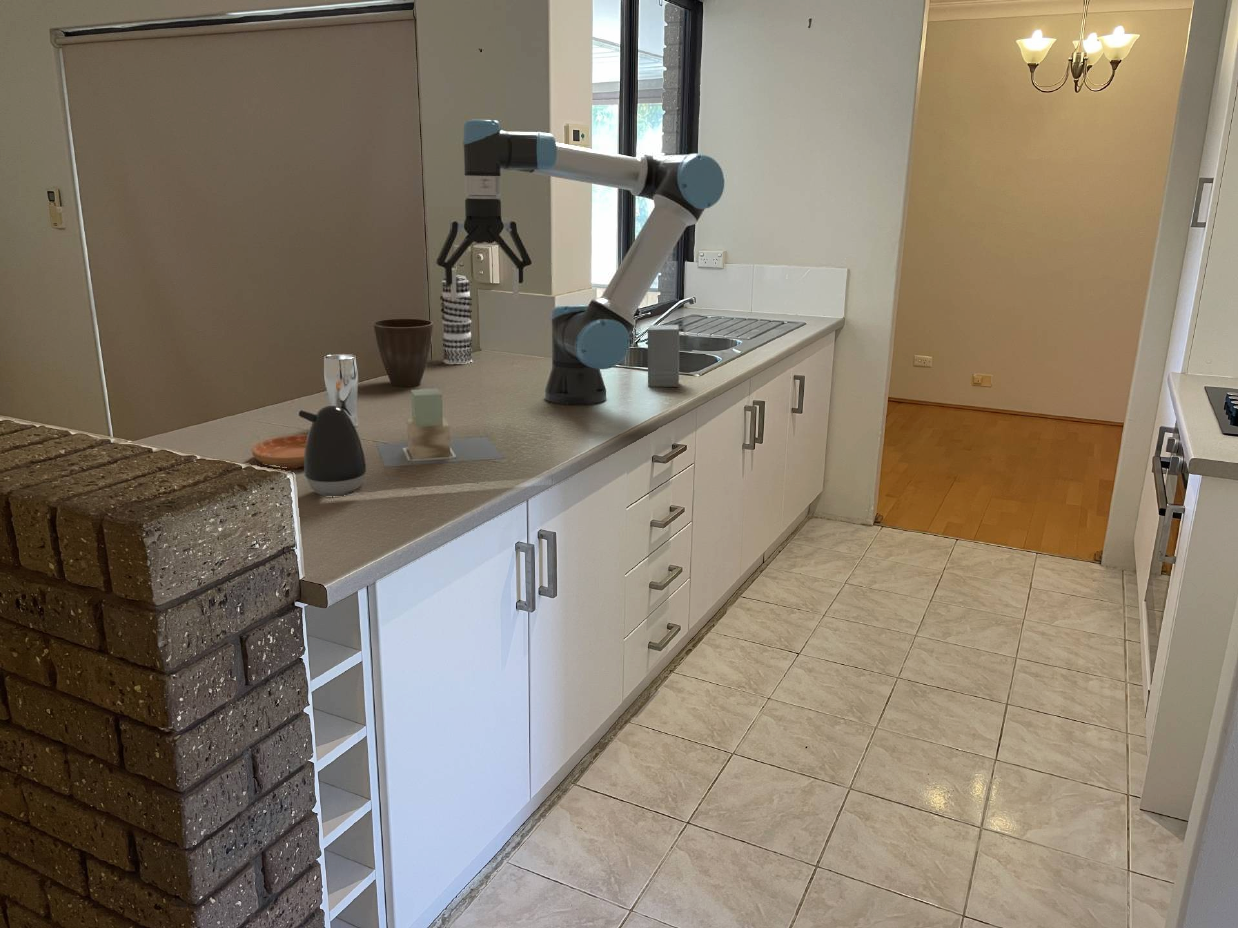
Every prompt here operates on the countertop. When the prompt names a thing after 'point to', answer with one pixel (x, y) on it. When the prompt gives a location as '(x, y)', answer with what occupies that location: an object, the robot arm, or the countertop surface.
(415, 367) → the plant pot
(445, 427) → the maple block
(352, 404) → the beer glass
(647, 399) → the countertop surface
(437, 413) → the sage block
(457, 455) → the board
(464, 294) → the decorative candle
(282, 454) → the saucer
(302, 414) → the pump dispenser
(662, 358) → the skincare box
